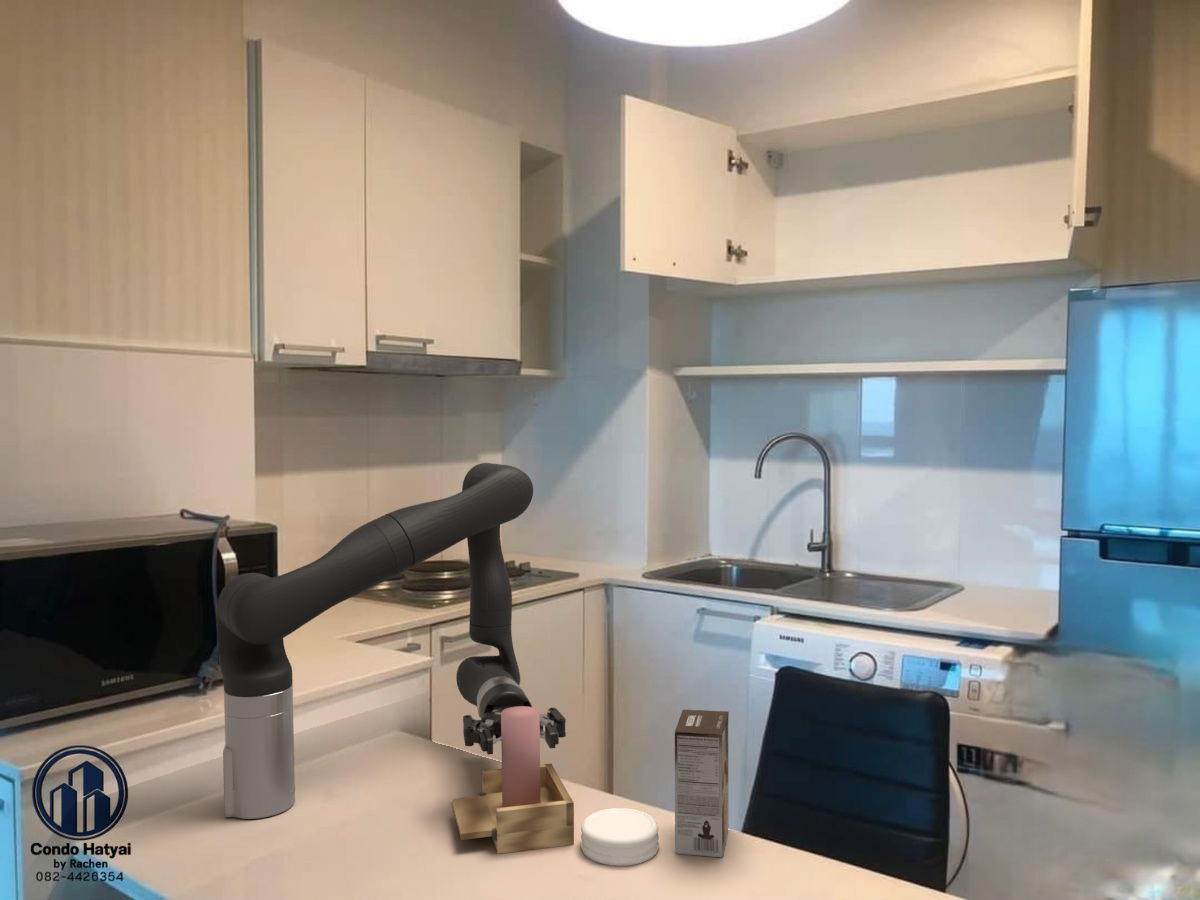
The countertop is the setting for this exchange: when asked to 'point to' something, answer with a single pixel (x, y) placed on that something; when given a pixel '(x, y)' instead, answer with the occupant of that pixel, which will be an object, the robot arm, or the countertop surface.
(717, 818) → the coffee box
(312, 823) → the countertop surface
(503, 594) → the robot arm
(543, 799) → the box
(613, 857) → the white round ridged container
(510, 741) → the pink pillar candle
